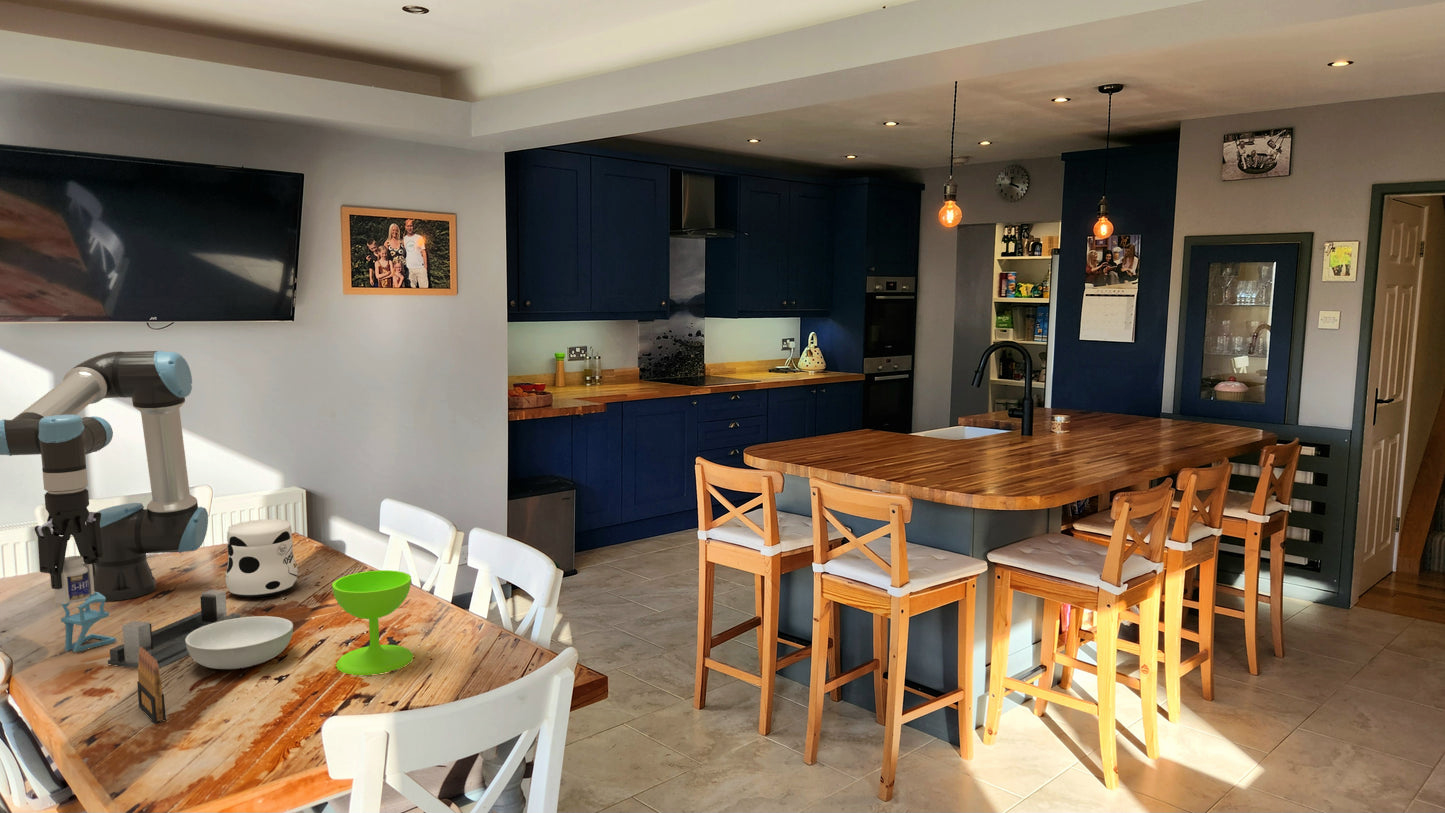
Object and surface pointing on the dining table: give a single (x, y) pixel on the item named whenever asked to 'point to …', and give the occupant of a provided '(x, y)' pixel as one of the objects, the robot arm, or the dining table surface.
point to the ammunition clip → (150, 687)
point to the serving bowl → (239, 641)
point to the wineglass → (373, 618)
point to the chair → (85, 624)
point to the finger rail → (168, 633)
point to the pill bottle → (76, 578)
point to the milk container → (260, 558)
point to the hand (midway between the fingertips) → (75, 597)
